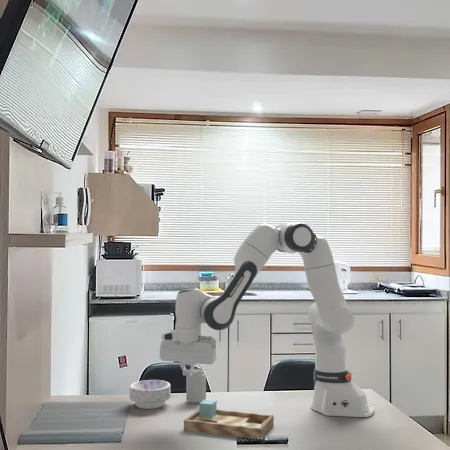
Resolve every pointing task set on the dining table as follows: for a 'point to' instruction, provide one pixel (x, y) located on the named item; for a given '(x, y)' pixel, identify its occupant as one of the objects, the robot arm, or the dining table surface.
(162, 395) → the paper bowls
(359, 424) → the dining table surface
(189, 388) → the can
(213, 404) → the block
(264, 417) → the wooden tray
